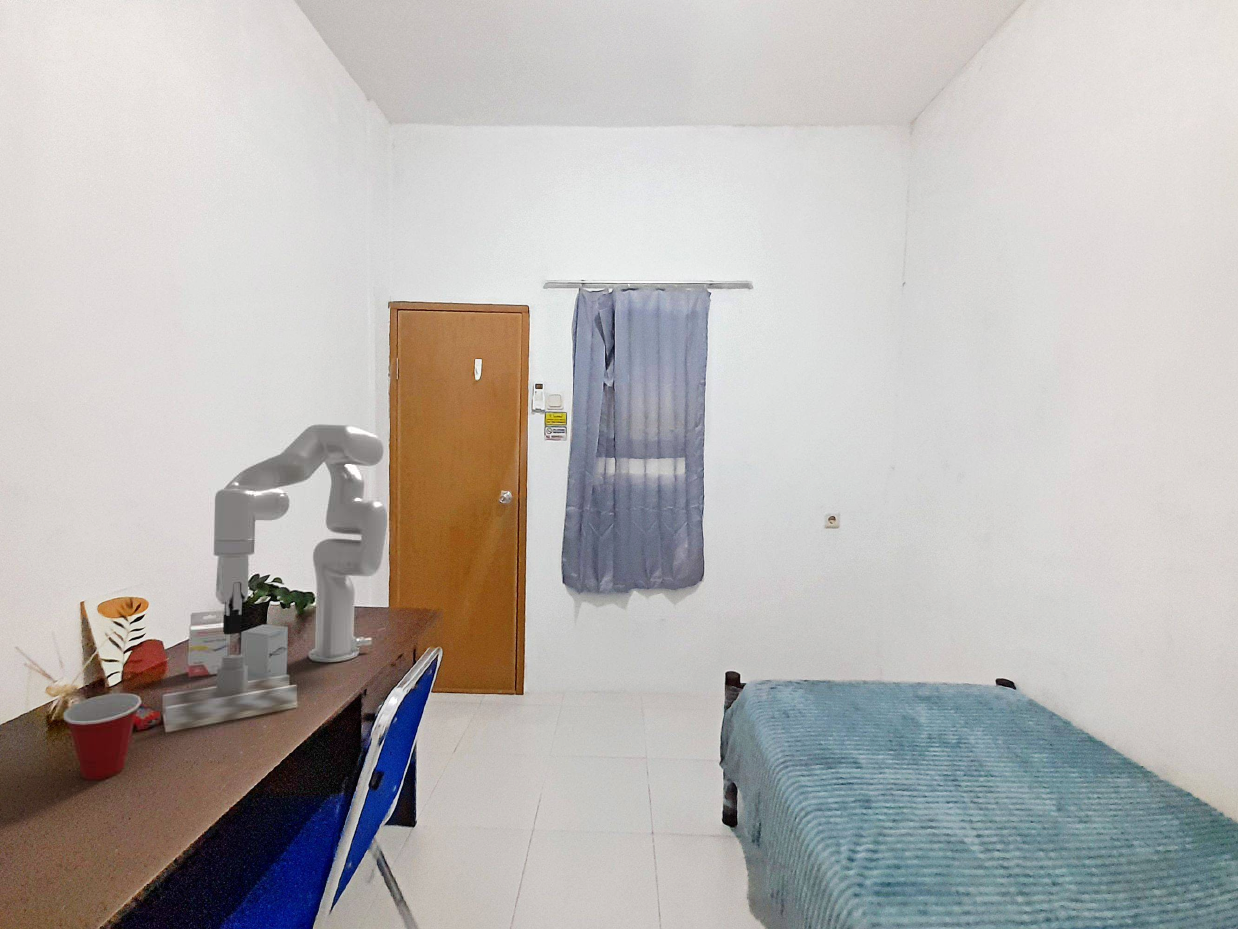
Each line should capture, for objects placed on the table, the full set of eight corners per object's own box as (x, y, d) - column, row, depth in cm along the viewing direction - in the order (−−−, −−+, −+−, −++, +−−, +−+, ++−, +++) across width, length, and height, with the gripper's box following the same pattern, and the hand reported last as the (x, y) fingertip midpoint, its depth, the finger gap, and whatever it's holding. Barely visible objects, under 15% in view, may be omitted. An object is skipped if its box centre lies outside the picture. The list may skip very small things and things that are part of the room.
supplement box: (266, 687, 160) (267, 634, 159) (238, 684, 161) (240, 631, 161) (287, 677, 167) (288, 626, 166) (261, 674, 168) (262, 623, 168)
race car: (166, 725, 139) (166, 705, 139) (139, 735, 134) (140, 715, 133) (121, 713, 143) (122, 694, 143) (94, 722, 138) (94, 703, 138)
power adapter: (221, 697, 147) (222, 642, 147) (248, 697, 148) (249, 643, 147) (215, 703, 144) (216, 647, 144) (242, 703, 145) (243, 647, 144)
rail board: (287, 692, 157) (287, 673, 157) (297, 707, 149) (297, 687, 149) (162, 715, 142) (162, 693, 142) (165, 732, 134) (166, 709, 134)
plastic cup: (45, 789, 112) (46, 717, 112) (89, 758, 123) (89, 693, 122) (116, 788, 113) (117, 717, 113) (153, 758, 124) (154, 693, 124)
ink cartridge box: (188, 678, 164) (189, 617, 163) (188, 671, 168) (189, 612, 167) (229, 672, 168) (230, 613, 168) (228, 666, 173) (229, 609, 172)
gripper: (209, 543, 148) (207, 627, 149) (218, 553, 136) (216, 644, 137) (248, 541, 153) (246, 622, 153) (260, 551, 141) (258, 639, 141)
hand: (232, 632), depth 145 cm, fingers closed
